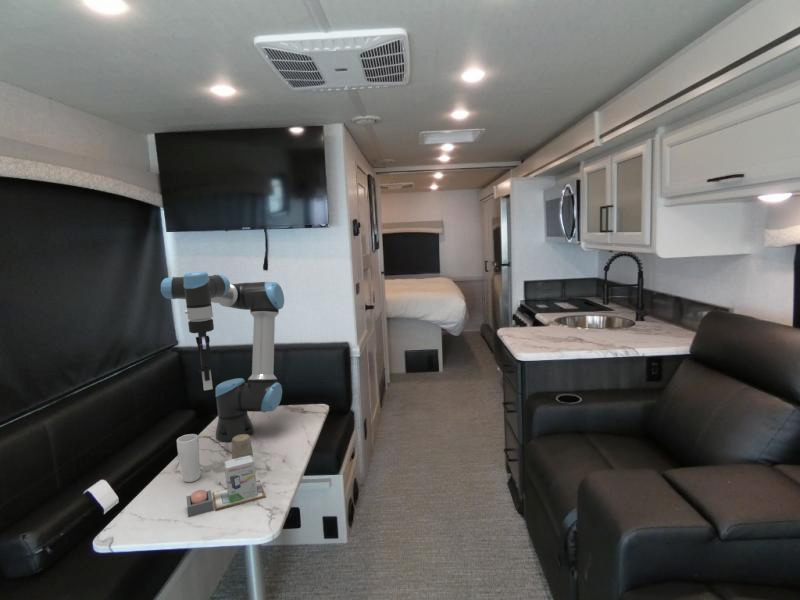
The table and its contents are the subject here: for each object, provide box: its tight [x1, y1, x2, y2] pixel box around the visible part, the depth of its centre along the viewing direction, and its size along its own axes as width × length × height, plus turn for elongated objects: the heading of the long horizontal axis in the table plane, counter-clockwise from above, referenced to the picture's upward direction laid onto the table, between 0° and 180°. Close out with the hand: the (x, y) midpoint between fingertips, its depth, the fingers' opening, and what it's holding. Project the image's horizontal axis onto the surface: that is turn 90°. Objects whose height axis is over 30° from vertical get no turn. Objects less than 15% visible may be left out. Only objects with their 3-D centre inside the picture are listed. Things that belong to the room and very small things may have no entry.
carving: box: [230, 434, 254, 460], centre depth 167 cm, size 6×8×12 cm
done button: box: [190, 489, 207, 505], centre depth 144 cm, size 4×4×4 cm
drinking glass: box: [176, 433, 201, 483], centre depth 161 cm, size 7×7×15 cm
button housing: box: [186, 490, 214, 518], centre depth 144 cm, size 7×7×3 cm
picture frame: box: [211, 479, 267, 512], centre depth 150 cm, size 11×15×1 cm
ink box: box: [224, 456, 258, 503], centre depth 148 cm, size 9×5×12 cm, turn 116°
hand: (208, 389), depth 156 cm, fingers closed
